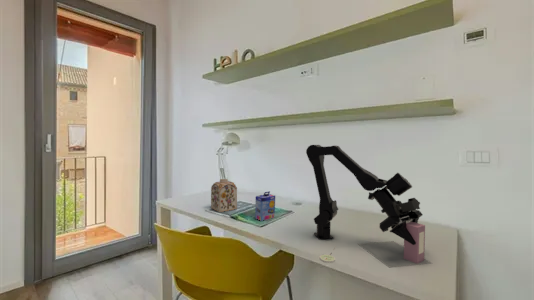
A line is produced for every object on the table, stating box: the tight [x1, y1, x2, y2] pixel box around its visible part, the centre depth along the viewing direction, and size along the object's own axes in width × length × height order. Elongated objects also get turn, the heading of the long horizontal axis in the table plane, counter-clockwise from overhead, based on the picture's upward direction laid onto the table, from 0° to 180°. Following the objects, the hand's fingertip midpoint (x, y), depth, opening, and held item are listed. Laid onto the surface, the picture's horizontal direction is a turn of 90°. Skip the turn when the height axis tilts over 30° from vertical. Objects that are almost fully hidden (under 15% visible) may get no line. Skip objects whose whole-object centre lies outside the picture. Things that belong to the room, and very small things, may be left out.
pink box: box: [403, 222, 426, 264], centre depth 85 cm, size 4×4×12 cm
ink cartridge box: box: [254, 191, 276, 222], centre depth 132 cm, size 10×6×14 cm, turn 132°
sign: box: [319, 247, 336, 264], centre depth 91 cm, size 5×1×15 cm
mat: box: [357, 240, 432, 268], centre depth 91 cm, size 19×16×1 cm
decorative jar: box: [210, 178, 238, 213], centre depth 150 cm, size 12×12×18 cm
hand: (418, 242), depth 84 cm, fingers closed on pink box, 4 cm apart
